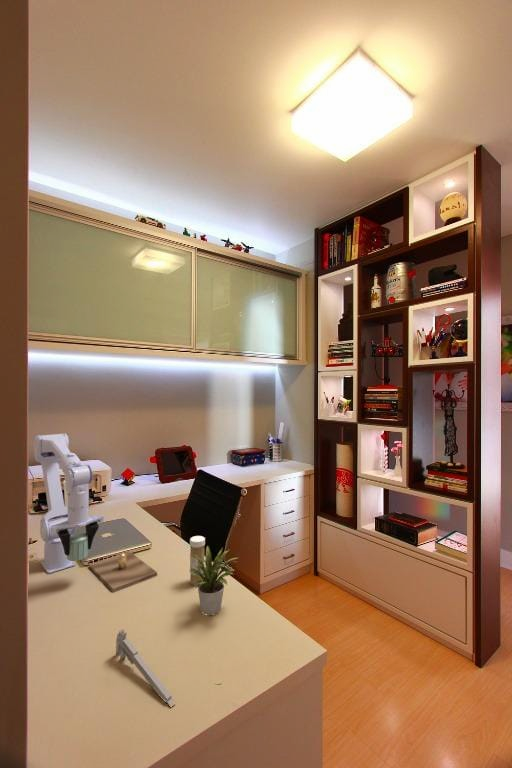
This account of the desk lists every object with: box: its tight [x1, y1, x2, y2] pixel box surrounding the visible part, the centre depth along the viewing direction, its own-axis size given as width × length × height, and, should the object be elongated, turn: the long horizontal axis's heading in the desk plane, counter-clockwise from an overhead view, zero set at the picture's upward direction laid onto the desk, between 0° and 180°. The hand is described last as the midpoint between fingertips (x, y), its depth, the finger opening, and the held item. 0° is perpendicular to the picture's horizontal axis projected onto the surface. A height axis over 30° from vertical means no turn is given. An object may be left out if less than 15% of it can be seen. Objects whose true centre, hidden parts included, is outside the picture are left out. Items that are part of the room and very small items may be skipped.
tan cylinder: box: [118, 552, 126, 570], centre depth 118 cm, size 2×2×5 cm
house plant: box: [188, 545, 239, 616], centre depth 96 cm, size 14×14×16 cm
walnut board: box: [88, 551, 158, 593], centre depth 118 cm, size 20×14×1 cm
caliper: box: [115, 628, 175, 706], centre depth 75 cm, size 20×1×6 cm, turn 49°
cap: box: [67, 532, 89, 562], centre depth 110 cm, size 6×6×6 cm
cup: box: [62, 479, 68, 508], centre depth 176 cm, size 8×8×14 cm
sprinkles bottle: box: [189, 535, 206, 587], centre depth 112 cm, size 5×5×14 cm
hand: (77, 551), depth 110 cm, fingers closed on cap, 6 cm apart
